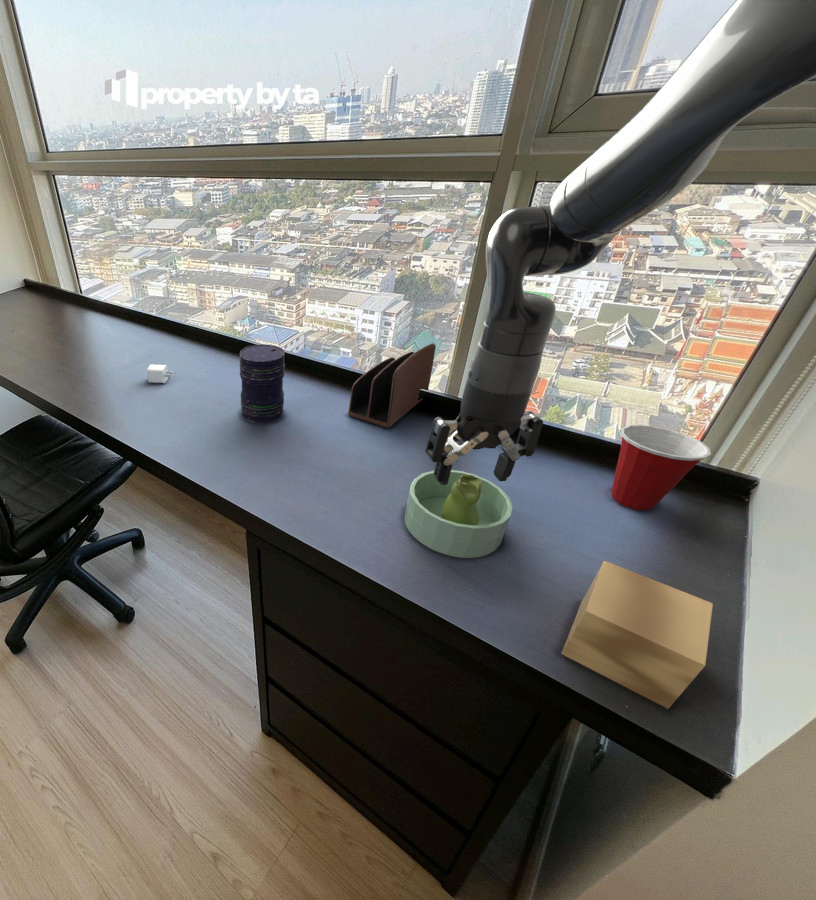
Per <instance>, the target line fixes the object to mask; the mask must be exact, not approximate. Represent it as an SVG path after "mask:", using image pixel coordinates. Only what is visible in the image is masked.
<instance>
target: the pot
mask: <svg viewBox="0 0 816 900" xmlns="http://www.w3.org/2000/svg"><path fill="white" fill-rule="evenodd" d="M434 470H435V469H434ZM434 470H430V471H426V472H423V473H420V474H419V475H418V476H416V477H415V478H414V479H413V481H412V483H411V484H410V487H409V491H408V494H407V495H408V496H407V501H406V506H405V510H404V523H405V526H406V528H407V530H408V532H409V533H410V534H411V535H412V537H414V539H415V540H417V541H418V542H419V543H420V544H422V545H423V546H425V547H427V548H428V549H430V550H433V551H434V552H437V553H439V554H442V555H446V556H449V557H453V558H460V559H462V558H463V559H474V558H475V559H476V558H482V557H486V556H488V555H490V554H492V553H494V552H495V551H496V550H497V549H498V548H499V546H500V545H501V544H502V540H503V539H504V536H505V533H506V531H507V528H508V525H509V522H510V519H511V516H512V513H513V509H514V508H513V507H514V506H513V504H512V501H511V498H510V497H509V495H507V493H506V492H505V491H504V490H503V489H502V488H501V487H499V486H498V485H496V484H495V483H494V482H492V481H490V480H488V479H486V478H484V477H482V476H479V475H477V474H475V473H470V472H466V471H462V470H453V469H451V473H450V476H449V480H448V484H447V485H441V484H440V483H439V482H438V480H437V479H436V477H435V476H434ZM462 475H472V476H474V477H476V478H478V479H481V480H482V489H481V494H480V498H479V500H478V502H477V503H476V506H477V510H478V513H479V517H480V520H479V524H478V525H474V526H472V525H465V524H458V523H454V522H451V521H448V520H445V519H442V518H441V513H442V509H443V506H444V503H445V501H446V499H447V497H448V496H449V494H450V493H451V489H452V486H453V484H454V483H455V482H456V481H457V480H458V479H460V478H461V476H462Z"/></svg>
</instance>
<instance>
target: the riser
mask: <svg viewBox="0 0 816 900" xmlns="http://www.w3.org/2000/svg"><path fill="white" fill-rule="evenodd" d="M713 607H714V603H713V602H710V601H708V600H706V599H703V598H700V597H697V596H696V595H694V594H691V593H689V592H688V593H687V592H685V591H682V590H680V589H677V588H675V587H674V586H673V587H672V586H670V585H668V584H665V583H663V582H660V581H657V580H656V579H655V580H654V579H653V578H650V577H648V576H645V575H642V574H640V573H637V572H636V571H633V570H630V569H627V568H624V567H622V566H619V565H617V564H615V563H612V562H609V561H607V560H603V562H602V564H601V566H600V568H599V570H598V571H597V573H596V575H595V577H594V578H593V580H592V582H591V584H590V586H589V588H588V589H587V591H586V593H585V595H584V597H583V599H582V600H581V603H580V605H579V607H578V610H577V613H576V616H575V618H574V620H573V623H572V625H571V628H570V631H569V633H568V636H567V639H566V641H565V644H564V646H563V649H562V651H561V655H563V656H564V657H566V658H568V659H570V660H572V661H574V662H576V663H578V664H580V665H582V666H584V667H586V668H587V669H589V670H592V671H593V672H595V673H598V674H599V675H601V676H602V677H605V678H607V679H609V680H611V681H613V682H615V683H617V684H618V685H620V686H622V687H625V688H627V689H629V691H632V692H633V693H636V694H637V695H640V696H642V697H644V698H645V699H648V700H649V701H652V702H654V703H656V704H657V705H660V706H661V707H663V708H665V709H667V710H669V709H670V708H671V707H672V706H673V704H674V703H675V702H676V701H677V700H678V699H679V697H681V696H682V694H683V693H684V691H686V689H687V688H688V687H689V686H690V684H691V683H692V682H693V681H694V680H695V679H696V678H697V676H698V675H699V674H700V673H701V671H702V670H703V669H704V668H705V667H706V666H707V665H706V664H707V656H708V647H709V641H710V640H709V639H710V631H711V623H712V615H713Z"/></svg>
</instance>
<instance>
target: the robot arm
mask: <svg viewBox="0 0 816 900" xmlns="http://www.w3.org/2000/svg"><path fill="white" fill-rule="evenodd" d="M813 78H816V0H735V1H734V2H733V3H732V4H731V5H730V6H729V7H728V8H727V10H726V11H725V12H724V13H723V15H722V16H721V17H720V18H719V19H718V20H717V21H716V23H714V25H713V26H712V27H711V28H710V30H709V31H708V32H707V33H706V34H705V36H704V37H702V39H701V40H700V42H699V43H698V44H697V45H696V46H695V47H694V48H693V50H692V51H691V52H690V53H689V54H688V56H686V58H685V59H684V60H683V61H682V63H681V64H680V65H679V66H678V67H677V68H676V70H675V71H674V72H673V73H672V75H671V76H670V77H669V78H668V79H667V80H666V82H665V83H664V84H663V85H662V86H661V87H660V88H659V90H657V92H656V93H655V94H654V95H653V96H652V97H651V98H650V99H649V101H647V103H646V104H645V105H644V106H643V107H642V108H641V109H640V110H639V111H638V112H637V113H636V114H635V115H634V116H633V117H632V118H631V119H629V120H628V122H627V123H625V124H624V125H623V126H622V127H621V128H620V129H619V130H618V131H617V132H615V134H613V135H612V136H611V137H610V138H609V139H608V140H607V141H605V142H604V143H602V144H601V146H600V147H599V148H598V149H596V150H595V151H594V152H593V153H592V154H591V155H589V157H587V158H586V159H585V160H583V162H581V163H580V164H579V165H578V166H577V167H575V169H574V170H573V171H571V172H570V173H569V175H567V176H566V177H565V178H564V179H563V180H562V181H561V183H560V184H559V185H558V186H557V188H556V189H555V191H554V192H553V195H552V197H551V199H550V204H549V205H539V206H521V207H520V206H519V207H515V208H511V209H509V210H507V211H505V213H503V214H501V215H500V217H499V218H498V219H497V220H496V221H495V223H494V224H493V225H492V227H491V229H490V231H489V233H488V236H487V239H486V244H485V267H486V281H487V282H486V283H487V284H486V312H485V317H484V320H483V323H482V328H481V332H480V336H479V339H478V343H477V347H476V349H475V351H474V353H473V356H472V359H471V361H470V362H471V363H470V365H469V369H468V372H467V378H466V382H465V386H464V389H463V394H462V397H461V401H460V411H459V414H458V416H457V417H456V418H455V419H454V420H452V419H451V420H448V419H447V420H444V418H442V416H437V417H435V418H434V419H433V421H432V425H431V429H430V432H429V436H428V438H427V442H426V446H425V449H424V451H425V454H426V455H427V457H428V458H429V459H430V460H431V461H432V463H435V467H434V476H435V477H436V479H437V480H438V482H439V483H440V484H441V485H447V484H448V480H449V476H450V473H451V470H453V469H452V468H453V463H454V462H455V461H456V460H457V459H459V457H464V456H466V455H467V454H468V453H469V452H470V451H472V450H474V451H475V450H481V449H496V448H497V447H500V449H501V451H502V452H499V453H498V457H497V460H496V463H495V466H494V469H493V476H494V477H495V478H496V480H498V481H499V482H506V481H507V480H508V478H509V477H510V476H511V475H512V472H513V470H514V468H515V467H514V466H515V464H516V462H517V461H518V460H520V458H522V457H524V456H525V457H532V456H533V455H534V454H535V452H536V449H537V445H538V442H539V439H540V435H541V431H542V428H543V425H544V420H543V419H542V418H541V417H539V416H538V415H537V414H535V413H534V412H533V411H531V410H528V411H526V409H527V407H528V404H529V401H530V398H531V395H532V393H533V389H534V387H535V383H536V381H537V378H538V375H539V371H540V368H541V364H542V359H543V353H544V349H545V346H546V344H547V341H548V339H549V335H550V331H551V328H552V326H553V324H554V319H555V316H556V313H557V312H556V311H557V309H556V304H555V302H554V301H553V300H552V299H551V298H549V297H547V296H545V295H541V294H537V293H532V292H527V291H524V285H523V283H524V278H525V277H533V276H535V277H536V276H557V275H565V274H569V273H574V272H575V271H578V270H581V269H583V268H585V267H586V266H589V265H590V264H591V263H592V262H594V261H595V260H596V259H597V257H599V255H601V253H602V252H603V251H604V250H605V249H606V248H607V247H608V245H610V243H611V242H612V241H613V240H614V239H615V238H616V237H617V236H618V234H619V233H620V232H621V231H623V230H624V229H626V228H627V227H629V226H630V225H632V224H634V223H635V222H638V221H639V220H641V219H642V218H644V217H645V216H647V215H648V214H651V213H652V212H654V211H655V210H657V209H659V208H660V207H662V206H663V205H665V204H666V203H667V202H669V201H671V200H672V199H673V198H676V196H678V195H679V194H680V193H682V192H683V191H684V190H685V189H686V188H687V187H689V186H690V185H691V184H692V183H693V182H694V181H695V180H696V179H697V178H698V177H699V176H700V175H701V174H702V173H703V171H705V169H706V168H707V166H708V165H709V164H710V163H711V160H712V159H713V157H714V156H715V155H716V153H717V152H718V150H719V148H720V146H721V145H722V143H723V142H724V139H725V138H726V136H727V135H728V134H729V133H730V132H731V131H732V130H733V129H734V128H735V127H736V126H737V125H738V124H739V123H741V122H742V121H743V120H745V119H746V118H748V117H749V116H751V115H752V114H753V113H755V112H756V111H758V110H759V109H761V108H762V107H764V106H765V105H767V104H769V103H770V102H772V101H774V100H776V99H777V98H779V97H781V96H782V95H784V94H786V93H788V92H790V91H791V90H793V89H795V88H798V87H799V86H800V85H803V84H805V83H806V82H808V81H810V80H812V79H813ZM517 430H519V432H518V434H517V439H516V442H515V443H514V441H513V440H512V438H511V436H512V435H513V434H515V432H516V431H517ZM461 440H462V442H463V444H461V445H460V444H459V443H460V441H461Z"/></svg>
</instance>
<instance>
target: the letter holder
mask: <svg viewBox="0 0 816 900" xmlns="http://www.w3.org/2000/svg"><path fill="white" fill-rule="evenodd" d="M436 346H437V345H436V344H435V343H430V344H427V345H425V346H423V347H421V348H420V349H418V350H416V351H409V352H406V353H403V354H402V355H400V356H399V357H397V358H395V357H393V356H392V357H388V358H386V359H384V360H383V361H381V362H379V363H377V364H376V365H374V366H373V367H371V368H370V369H369V370H367V371H365V372H364V373H363V374H362V375H361V376H360V377H359V378H357V380H355V382H354V383H353V385H352V386H351V393H350V399H349V404H348V405H349V406H348V413H347V414H348V415H347V416H349V417H353V418H356V419H359V420H362V421H365V422H367V423H371V424H374V425H377V426H380V427H383V428H386V429H389V428H391V427H392V426H393V425H394V424H395V423H396V422H398V421H399V420H400V419H401V418H402V417H403V416H405V415H406V414H407V413H408V412H409V411H410V410H412V409H413V408H414V407H415V406H417V404H419V403H421V401H422V400H423V399H422V398H421V399H420V400H418V398H419V393H420V389H425V390H428V391H429V387H430V384H431V383H430V382H431V377H432V373H433V372H432V371H433V366H434V360H435V354H436Z"/></svg>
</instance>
